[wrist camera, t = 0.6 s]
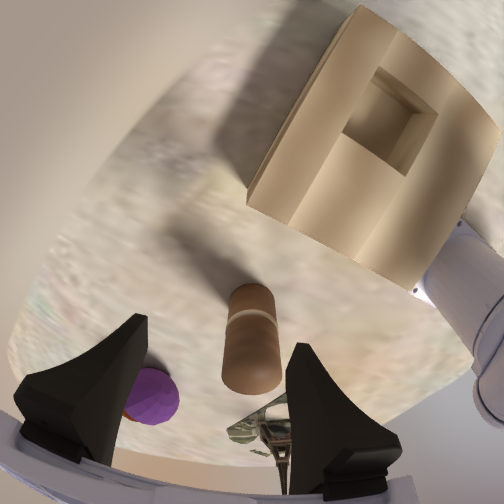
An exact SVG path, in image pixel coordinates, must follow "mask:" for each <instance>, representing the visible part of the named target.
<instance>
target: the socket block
mask: <svg viewBox="0 0 504 504" xmlns="http://www.w3.org/2000/svg"><path fill="white" fill-rule="evenodd" d="M501 134H502V131H501V130H500V129H499V127H498V126H497V125H496V124H495V122H494V121H493V120H492V119H491V117H490V116H489V115H488V114H487V113H486V111H485V110H484V109H483V108H482V107H481V106H480V104H479V103H478V102H477V101H476V100H475V99H474V98H473V97H472V95H471V94H470V93H469V92H468V91H467V90H466V89H465V88H464V87H463V86H462V85H461V84H460V83H459V82H458V81H457V80H456V79H455V78H454V77H453V76H452V75H451V74H450V73H449V72H448V71H447V70H446V69H445V68H444V67H443V66H442V65H441V64H440V63H438V62H437V61H436V60H435V59H434V58H433V57H432V56H431V55H429V54H428V53H427V52H426V51H425V50H424V49H422V48H421V47H420V46H419V45H418V44H416V43H415V42H414V41H413V40H411V39H410V38H409V37H407V36H406V35H405V34H404V33H402V32H401V31H400V30H398V29H397V28H396V27H394V26H393V25H391V24H390V23H389V22H387V21H386V20H384V19H383V18H381V17H380V16H378V15H377V14H375V13H374V12H372V11H371V10H369V9H368V8H366V7H364V6H363V5H360V6H359V7H358V8H357V9H356V10H355V11H354V12H353V13H352V14H351V15H350V16H349V17H348V18H347V19H346V20H345V21H344V22H343V23H342V24H341V26H340V27H339V29H338V31H337V32H336V34H335V36H334V37H333V39H332V41H331V42H330V44H329V46H328V47H327V49H326V51H325V52H324V54H323V56H322V57H321V59H320V61H319V62H318V64H317V66H316V67H315V69H314V71H313V73H312V74H311V76H310V78H309V79H308V81H307V83H306V85H305V86H304V88H303V90H302V92H301V93H300V95H299V97H298V99H297V100H296V102H295V104H294V106H293V107H292V109H291V111H290V113H289V114H288V116H287V118H286V120H285V121H284V123H283V125H282V127H281V129H280V130H279V132H278V134H277V136H276V138H275V139H274V141H273V143H272V145H271V147H270V149H269V150H268V152H267V154H266V156H265V158H264V160H263V161H262V163H261V165H260V167H259V169H258V171H257V172H256V174H255V176H254V178H253V180H252V182H251V184H250V186H249V187H248V190H247V202H246V205H248V206H250V207H252V208H254V209H256V210H258V211H260V212H262V213H264V214H266V215H268V216H270V217H272V218H274V219H276V220H278V221H279V222H281V223H283V224H285V225H287V226H289V227H291V228H293V229H295V230H297V231H299V232H301V233H303V234H305V235H307V236H309V237H311V238H312V239H314V240H316V241H318V242H320V243H322V244H324V245H326V246H328V247H329V248H331V249H333V250H335V251H337V252H339V253H341V254H343V255H344V256H346V257H348V258H350V259H352V260H354V261H355V262H357V263H359V264H361V265H363V266H365V267H366V268H368V269H370V270H372V271H374V272H375V273H377V274H379V275H381V276H383V277H384V278H386V279H388V280H390V281H391V282H393V283H395V284H397V285H399V286H400V287H402V288H404V289H406V290H407V291H409V292H411V291H412V289H413V288H414V287H415V285H416V284H417V283H418V281H419V280H420V279H421V277H422V276H423V274H424V273H425V272H426V270H427V269H428V267H429V266H430V264H431V263H432V261H433V260H434V258H435V257H436V255H437V254H438V252H439V251H440V249H441V248H442V246H443V245H444V243H445V242H446V240H447V239H448V237H449V235H450V234H451V232H452V230H453V229H454V227H455V225H456V224H457V222H458V220H459V219H460V217H461V215H462V214H463V212H464V210H465V208H466V207H467V205H468V203H469V201H470V199H471V197H472V196H473V194H474V192H475V190H476V188H477V186H478V184H479V182H480V180H481V178H482V176H483V174H484V172H485V170H486V168H487V166H488V164H489V162H490V160H491V157H492V155H493V153H494V151H495V148H496V146H497V144H498V141H499V139H500V137H501Z"/></svg>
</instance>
